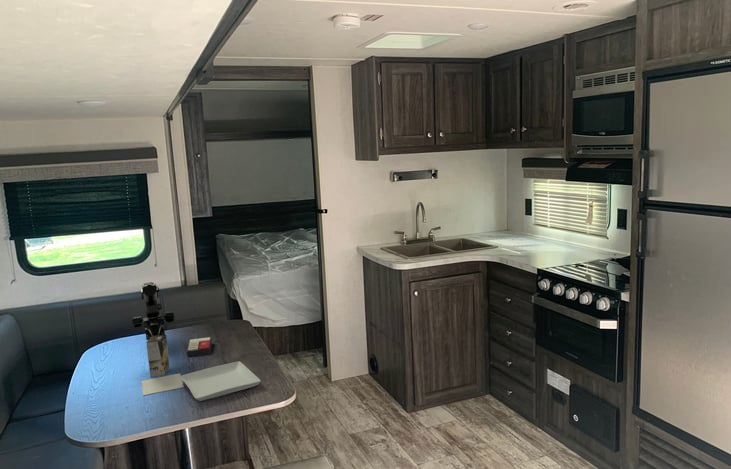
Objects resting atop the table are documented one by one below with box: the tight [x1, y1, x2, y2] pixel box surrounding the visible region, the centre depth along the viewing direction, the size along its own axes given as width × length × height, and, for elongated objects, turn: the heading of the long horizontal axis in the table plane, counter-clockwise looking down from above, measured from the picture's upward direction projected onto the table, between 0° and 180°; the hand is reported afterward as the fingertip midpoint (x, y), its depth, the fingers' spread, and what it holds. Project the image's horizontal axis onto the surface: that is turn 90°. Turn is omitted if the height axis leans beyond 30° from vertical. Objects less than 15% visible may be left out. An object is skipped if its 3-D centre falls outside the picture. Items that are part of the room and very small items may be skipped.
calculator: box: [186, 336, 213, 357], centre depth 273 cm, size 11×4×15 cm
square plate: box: [179, 360, 262, 402], centre depth 230 cm, size 27×27×4 cm
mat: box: [141, 372, 185, 397], centre depth 234 cm, size 16×16×1 cm
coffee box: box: [146, 334, 171, 377], centre depth 246 cm, size 9×6×16 cm
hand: (155, 335), depth 257 cm, fingers open, 2 cm apart
